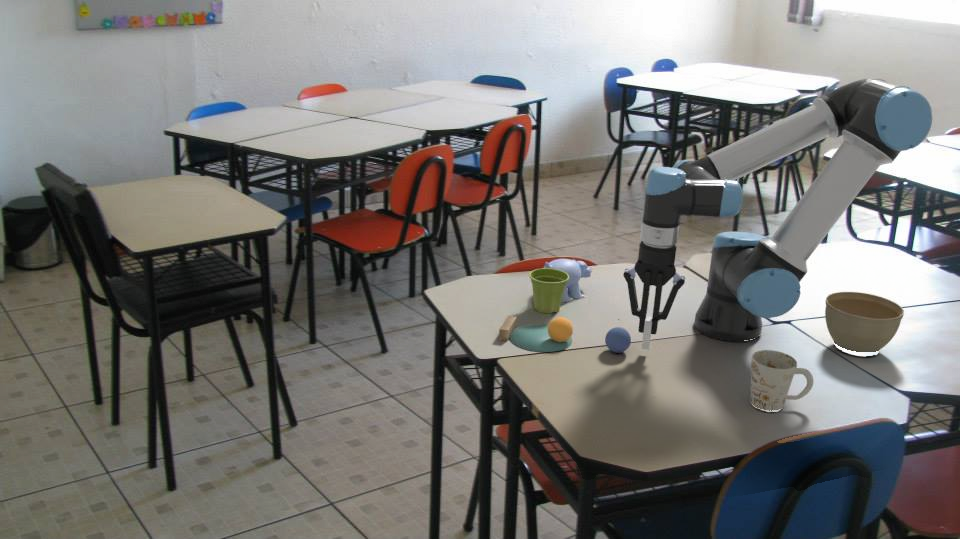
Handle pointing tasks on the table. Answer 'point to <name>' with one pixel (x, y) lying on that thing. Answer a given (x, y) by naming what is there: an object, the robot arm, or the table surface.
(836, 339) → the planter bowl
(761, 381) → the mug
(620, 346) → the blue ball
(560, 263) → the hippopotamus toy
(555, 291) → the plant pot
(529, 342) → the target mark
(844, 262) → the table surface
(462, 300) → the table surface
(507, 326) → the rail
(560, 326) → the orange ball
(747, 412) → the table surface
